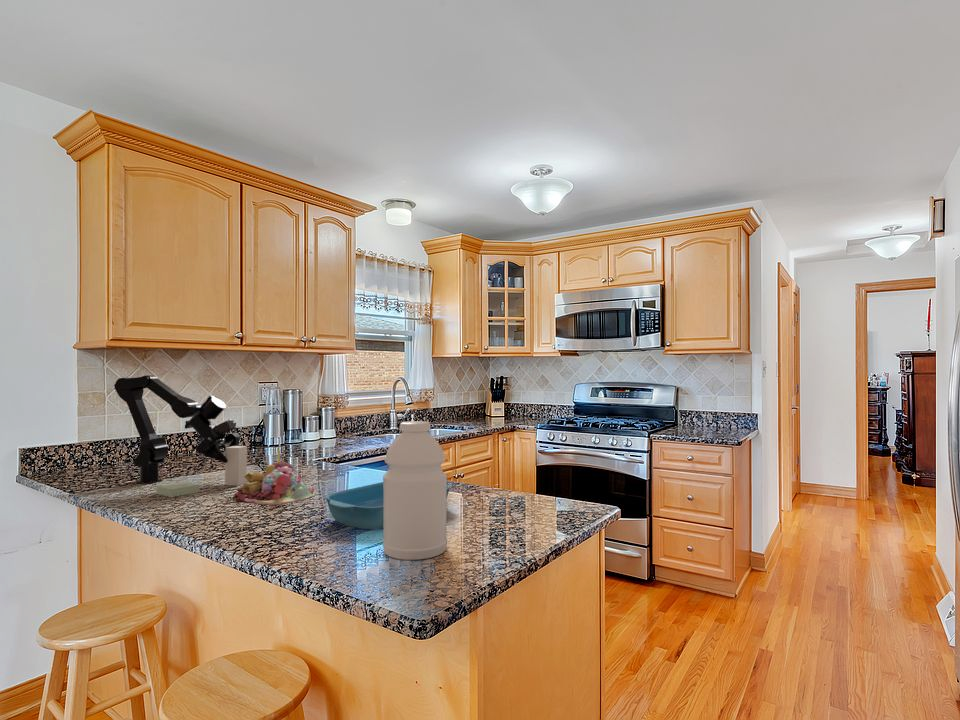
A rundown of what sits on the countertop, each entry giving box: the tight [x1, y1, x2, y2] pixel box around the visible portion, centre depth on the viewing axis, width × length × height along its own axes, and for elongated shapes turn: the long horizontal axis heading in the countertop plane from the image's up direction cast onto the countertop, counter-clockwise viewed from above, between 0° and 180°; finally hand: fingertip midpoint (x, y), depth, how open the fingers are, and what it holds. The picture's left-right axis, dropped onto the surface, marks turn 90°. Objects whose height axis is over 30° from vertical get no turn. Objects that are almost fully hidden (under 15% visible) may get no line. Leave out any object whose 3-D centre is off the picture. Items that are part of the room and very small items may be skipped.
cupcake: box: [271, 448, 294, 472], centre depth 195 cm, size 9×8×12 cm
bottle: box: [382, 420, 448, 561], centre depth 119 cm, size 14×14×28 cm
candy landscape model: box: [232, 464, 316, 506], centre depth 174 cm, size 25×24×9 cm
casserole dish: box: [325, 481, 451, 530], centre depth 149 cm, size 37×22×7 cm, turn 143°
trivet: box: [156, 481, 200, 498], centre depth 176 cm, size 9×9×2 cm
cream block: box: [224, 445, 248, 486], centre depth 191 cm, size 5×5×13 cm
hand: (234, 460), depth 191 cm, fingers open, 9 cm apart
